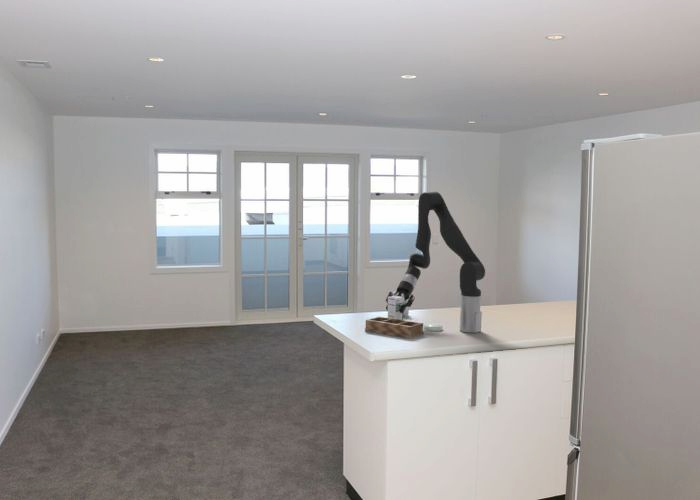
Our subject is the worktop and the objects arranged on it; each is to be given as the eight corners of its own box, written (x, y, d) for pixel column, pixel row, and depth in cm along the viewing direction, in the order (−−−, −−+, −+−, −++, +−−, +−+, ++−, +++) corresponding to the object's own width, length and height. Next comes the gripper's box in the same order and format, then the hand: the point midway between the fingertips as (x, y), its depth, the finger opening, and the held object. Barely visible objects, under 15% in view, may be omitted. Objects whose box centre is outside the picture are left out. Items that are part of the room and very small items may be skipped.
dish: (445, 329, 326) (445, 325, 325) (436, 332, 318) (437, 328, 318) (429, 327, 331) (429, 323, 331) (420, 330, 323) (420, 325, 323)
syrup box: (394, 327, 326) (395, 297, 325) (386, 325, 331) (387, 296, 330) (403, 326, 330) (404, 297, 328) (395, 324, 334) (396, 295, 333)
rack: (423, 334, 313) (423, 323, 312) (408, 338, 302) (409, 327, 302) (380, 327, 327) (380, 316, 326) (364, 331, 316) (365, 320, 316)
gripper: (392, 278, 339) (378, 304, 330) (417, 281, 330) (404, 308, 322) (397, 288, 343) (384, 314, 335) (422, 291, 335) (409, 317, 327)
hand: (394, 311), depth 328 cm, fingers closed on syrup box, 7 cm apart
